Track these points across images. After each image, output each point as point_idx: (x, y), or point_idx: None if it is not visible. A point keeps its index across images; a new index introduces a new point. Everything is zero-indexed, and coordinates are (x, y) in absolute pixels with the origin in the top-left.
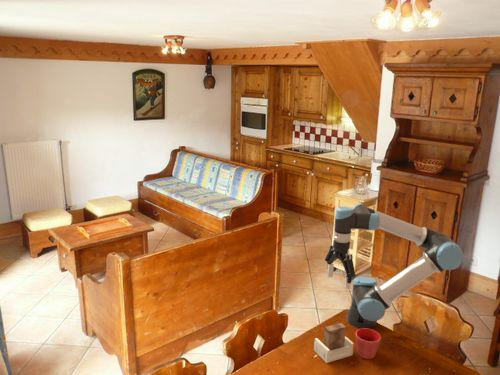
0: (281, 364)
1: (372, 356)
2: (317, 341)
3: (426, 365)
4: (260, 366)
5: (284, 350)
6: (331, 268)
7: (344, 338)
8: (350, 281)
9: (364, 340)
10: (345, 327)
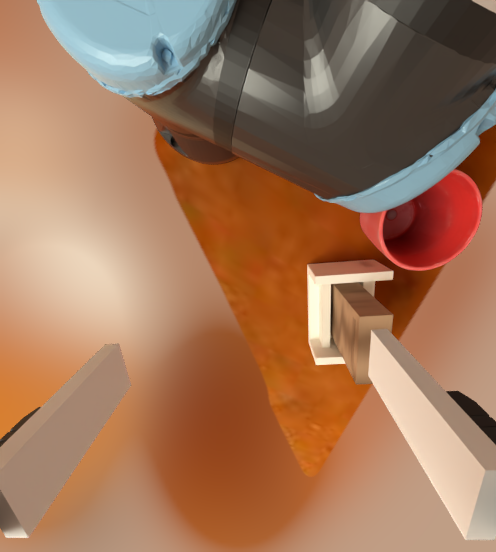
0: (326, 423)
1: (420, 212)
2: (330, 363)
3: None
4: (314, 456)
5: (282, 400)
6: (62, 436)
7: (370, 295)
8: (481, 424)
9: (450, 259)
10: (391, 315)
